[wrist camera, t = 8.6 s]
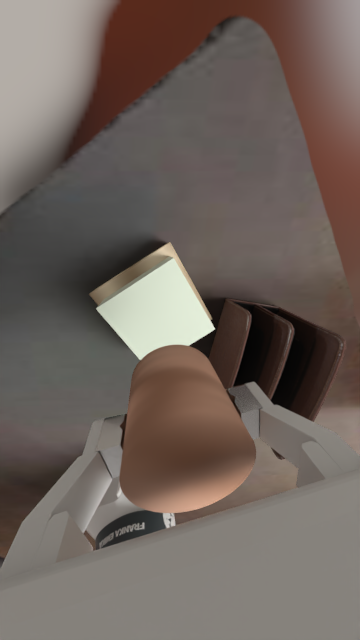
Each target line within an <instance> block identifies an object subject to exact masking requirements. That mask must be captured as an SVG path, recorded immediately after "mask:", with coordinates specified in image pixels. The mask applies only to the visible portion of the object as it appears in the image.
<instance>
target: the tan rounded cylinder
mask: <svg viewBox="0 0 360 640" xmlns="http://www.w3.org/2000/svg"><path fill="white" fill-rule="evenodd" d="M255 459H256V448H255V444H254V441H253V439H252V438H251V436H250V434H249V432H248V430H247V428H246V427H245V425H244V423H243V421H242V419H241V418H240V416H239V414H238V412H237V410H236V408H235V407H234V405H233V403H232V401H231V399H230V398H229V396H228V394H227V392H226V390H225V388H224V387H223V385H222V383H221V381H220V379H219V378H218V376H217V374H216V372H215V370H214V368H213V367H212V365H211V363H210V361H209V360H208V358H207V357H206V356H205V355H204V354H203V353H202V352H200V351H199V350H197V349H195V348H193V347H190V346H186V345H168V346H163V347H160V348H158V349H155V350H153V351H152V352H150V353H148V354H147V355H146V356H144V357H143V358H142V359H141V360H140V362H139V363H138V364H137V366H136V368H135V369H134V372H133V375H132V380H131V388H130V396H129V404H128V412H127V420H126V428H125V436H124V444H123V452H122V460H121V468H120V477H119V482H120V487H121V490H122V492H123V494H124V495H125V497H126V498H127V499H128V500H129V501H130V502H132V503H133V504H134V505H136V506H138V507H140V508H143V509H145V510H149V511H153V512H159V513H179V512H186V511H191V510H195V509H199V508H202V507H205V506H208V505H210V504H212V503H214V502H217V501H218V500H220V499H222V498H224V497H225V496H227V495H229V494H230V493H231V492H233V491H234V490H235V489H236V488H237V487H239V486H240V485H241V484H242V482H243V481H244V480H245V479H246V478H247V476H248V475H249V473H250V472H251V470H252V468H253V465H254V463H255Z"/></svg>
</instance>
